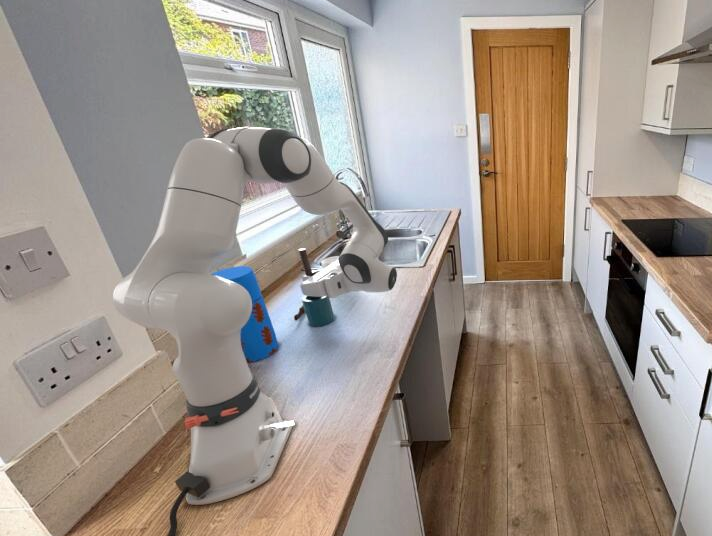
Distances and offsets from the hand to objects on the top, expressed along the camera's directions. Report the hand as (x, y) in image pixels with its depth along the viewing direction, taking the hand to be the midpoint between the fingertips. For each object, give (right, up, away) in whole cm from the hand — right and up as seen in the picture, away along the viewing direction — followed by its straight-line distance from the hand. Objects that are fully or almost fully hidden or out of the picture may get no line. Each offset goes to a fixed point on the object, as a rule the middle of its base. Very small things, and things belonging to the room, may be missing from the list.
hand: (307, 275), depth 128 cm
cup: (-2, -4, +30) cm, 30 cm away
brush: (+2, -12, +5) cm, 13 cm away
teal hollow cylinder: (+2, -15, +7) cm, 16 cm away
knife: (-8, -12, +13) cm, 20 cm away
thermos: (-10, -23, -9) cm, 26 cm away
